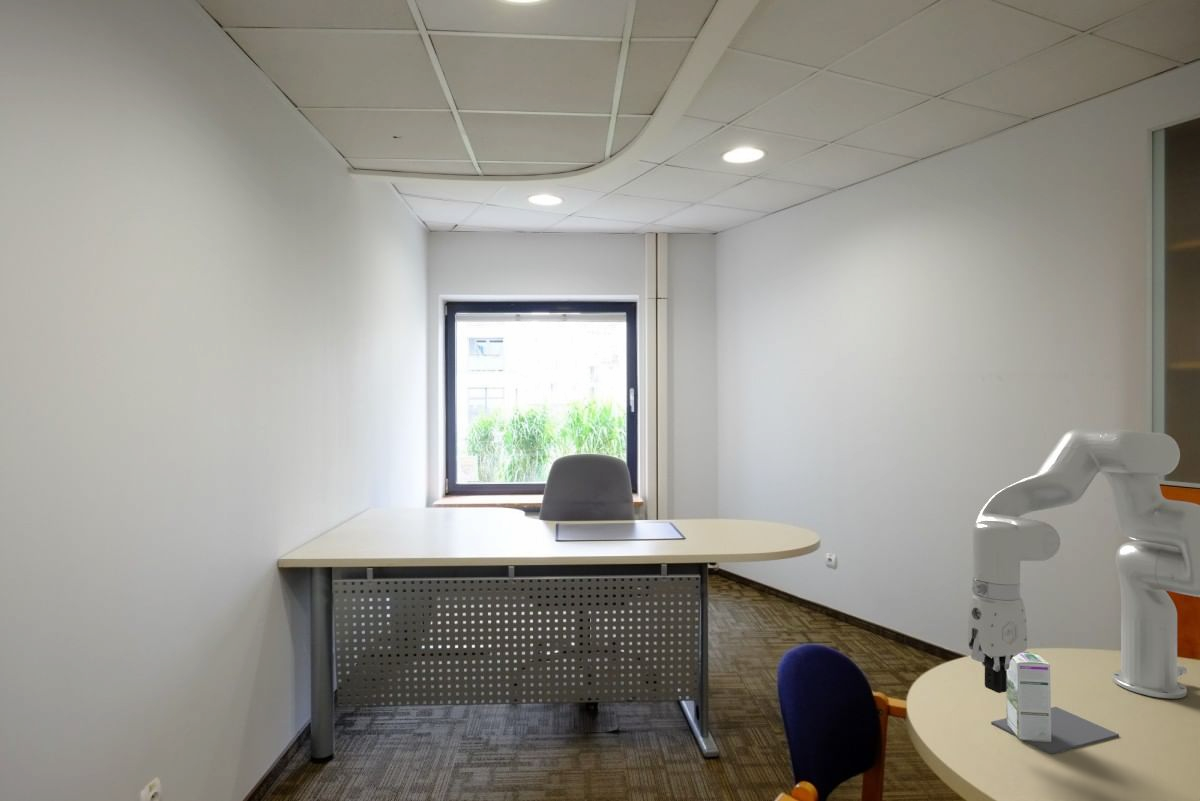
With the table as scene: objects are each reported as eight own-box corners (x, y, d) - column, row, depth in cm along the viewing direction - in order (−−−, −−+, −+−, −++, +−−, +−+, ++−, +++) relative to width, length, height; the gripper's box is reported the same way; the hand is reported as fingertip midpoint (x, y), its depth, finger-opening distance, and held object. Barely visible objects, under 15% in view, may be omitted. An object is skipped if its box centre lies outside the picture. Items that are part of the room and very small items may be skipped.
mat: (1055, 708, 137) (1055, 706, 137) (1118, 736, 126) (1118, 734, 126) (991, 723, 131) (991, 721, 131) (1051, 754, 119) (1051, 752, 119)
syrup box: (1052, 742, 123) (1052, 663, 122) (1017, 739, 124) (1017, 661, 124) (1038, 727, 128) (1038, 652, 128) (1004, 725, 129) (1004, 650, 129)
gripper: (983, 599, 117) (983, 704, 117) (1044, 591, 122) (1044, 692, 122) (948, 588, 124) (947, 687, 124) (1006, 580, 129) (1006, 676, 129)
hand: (995, 689), depth 123 cm, fingers closed
